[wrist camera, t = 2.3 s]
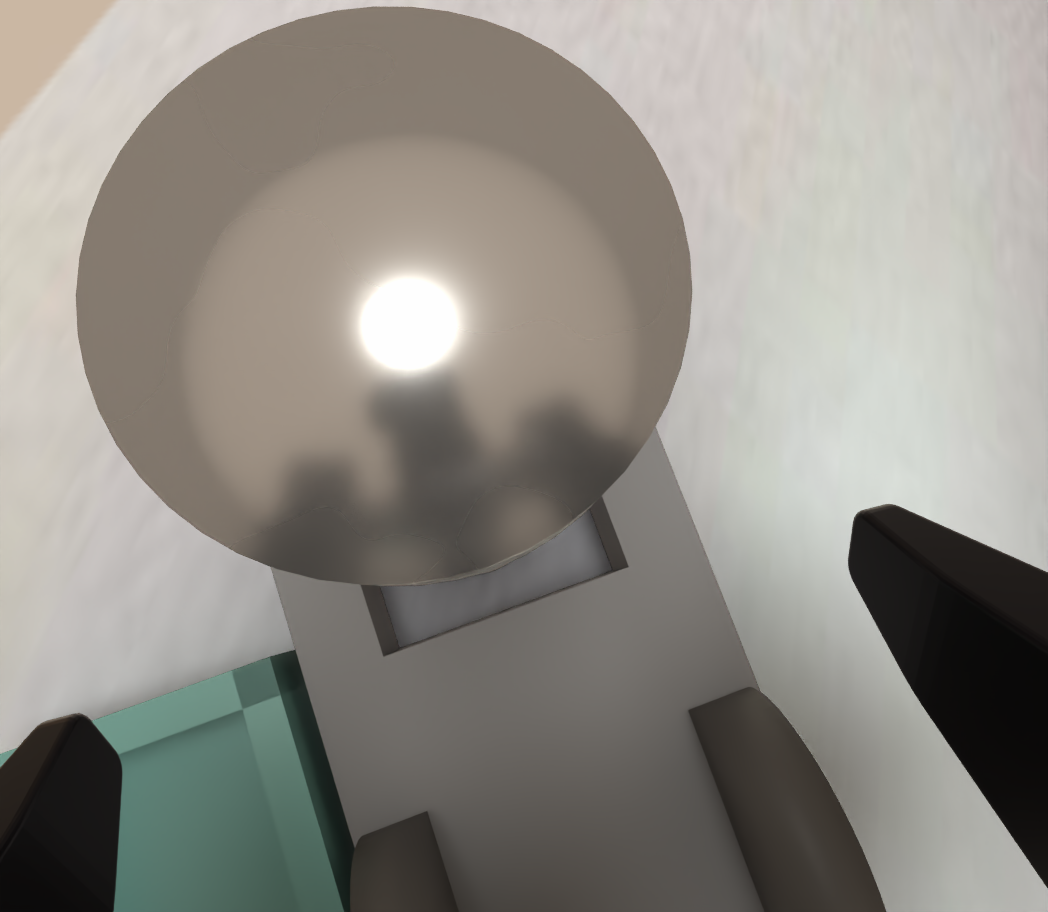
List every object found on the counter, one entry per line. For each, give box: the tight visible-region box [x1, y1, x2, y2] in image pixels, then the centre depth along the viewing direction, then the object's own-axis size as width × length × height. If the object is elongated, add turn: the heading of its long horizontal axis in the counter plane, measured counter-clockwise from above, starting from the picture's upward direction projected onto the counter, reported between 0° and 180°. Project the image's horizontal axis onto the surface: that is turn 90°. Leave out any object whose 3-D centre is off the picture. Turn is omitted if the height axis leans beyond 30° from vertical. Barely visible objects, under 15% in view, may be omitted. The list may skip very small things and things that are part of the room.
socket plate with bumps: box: [271, 427, 886, 912], centre depth 16 cm, size 16×9×6 cm, turn 20°
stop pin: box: [76, 7, 692, 586], centre depth 12 cm, size 4×4×14 cm
